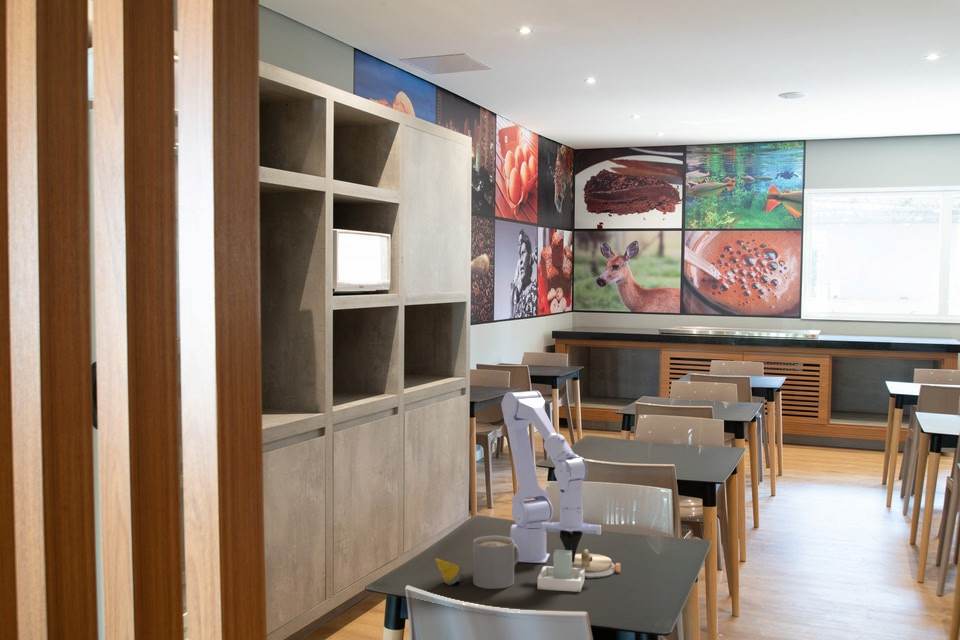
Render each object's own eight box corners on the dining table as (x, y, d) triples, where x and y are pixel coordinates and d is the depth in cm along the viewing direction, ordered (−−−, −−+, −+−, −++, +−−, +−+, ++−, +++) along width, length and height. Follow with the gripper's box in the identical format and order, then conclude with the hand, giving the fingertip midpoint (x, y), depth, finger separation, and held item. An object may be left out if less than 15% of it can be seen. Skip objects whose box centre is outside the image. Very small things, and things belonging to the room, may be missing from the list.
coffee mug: (488, 591, 204) (488, 548, 204) (465, 580, 212) (464, 539, 212) (533, 581, 211) (533, 540, 211) (509, 571, 219) (509, 531, 219)
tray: (537, 589, 205) (537, 578, 205) (543, 576, 215) (543, 566, 215) (580, 591, 203) (580, 581, 203) (584, 578, 213) (584, 568, 213)
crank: (566, 556, 228) (566, 537, 228) (613, 559, 225) (613, 540, 225) (560, 571, 215) (560, 551, 215) (609, 574, 213) (609, 553, 212)
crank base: (556, 576, 215) (556, 568, 215) (563, 560, 229) (563, 553, 229) (618, 579, 212) (618, 572, 212) (621, 563, 226) (621, 556, 226)
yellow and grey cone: (467, 588, 208) (441, 564, 204) (450, 594, 210) (424, 570, 206) (471, 569, 212) (445, 545, 208) (454, 575, 215) (428, 552, 211)
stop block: (553, 583, 207) (553, 554, 207) (555, 578, 211) (555, 549, 211) (570, 584, 207) (570, 554, 207) (572, 579, 211) (572, 550, 210)
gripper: (539, 509, 214) (539, 564, 214) (599, 511, 211) (599, 567, 211) (543, 502, 221) (544, 556, 221) (601, 505, 218) (601, 559, 218)
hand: (571, 561), depth 216 cm, fingers closed
